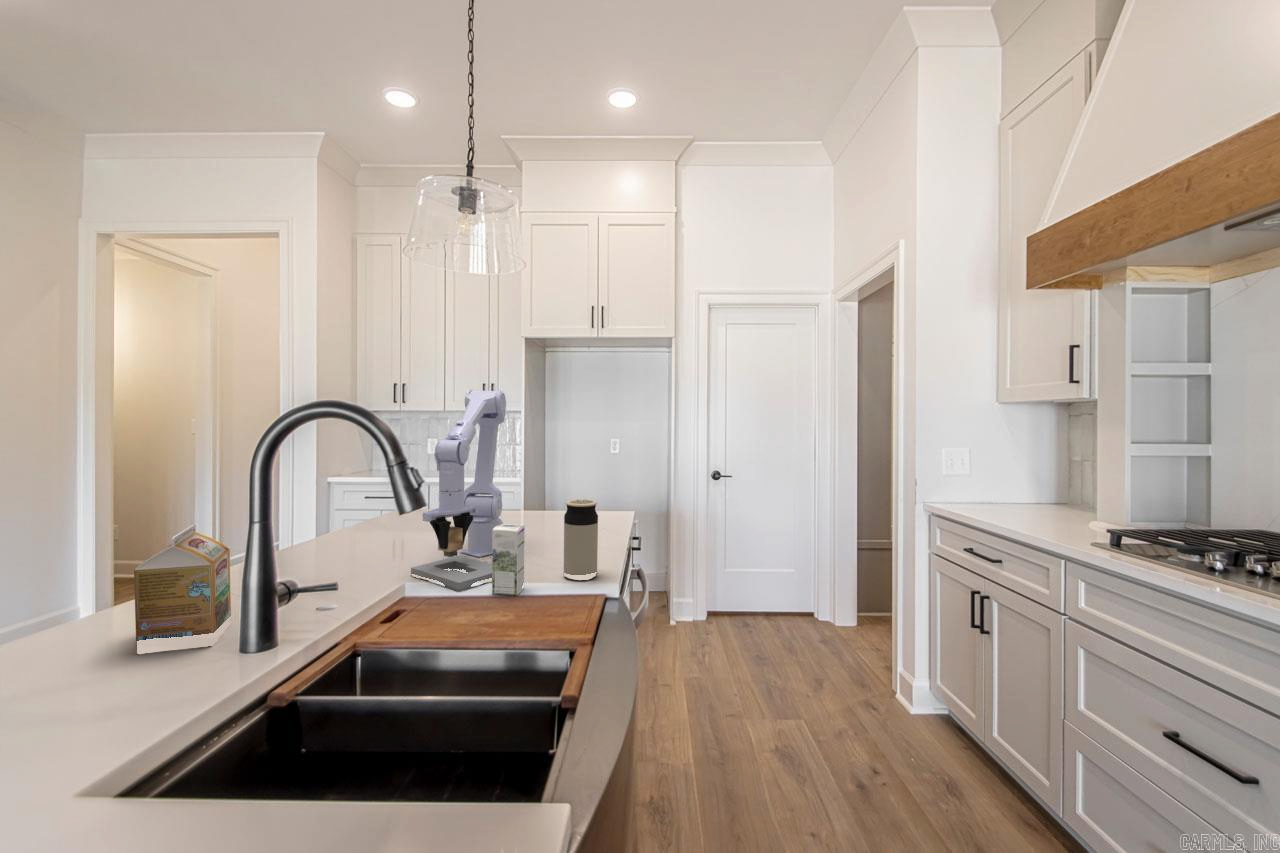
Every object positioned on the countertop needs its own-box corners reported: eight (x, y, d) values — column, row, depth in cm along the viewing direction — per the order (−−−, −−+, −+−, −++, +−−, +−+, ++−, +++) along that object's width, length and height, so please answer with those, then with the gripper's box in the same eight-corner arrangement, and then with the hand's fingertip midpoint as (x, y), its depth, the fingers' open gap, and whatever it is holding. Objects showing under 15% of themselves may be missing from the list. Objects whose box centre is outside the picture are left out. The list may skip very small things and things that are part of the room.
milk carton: (161, 630, 108) (159, 526, 107) (231, 624, 111) (229, 522, 110) (136, 655, 98) (133, 539, 97) (213, 646, 102) (210, 535, 101)
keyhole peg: (452, 552, 147) (452, 526, 146) (462, 555, 144) (462, 528, 144) (438, 556, 143) (437, 529, 143) (448, 558, 141) (448, 531, 141)
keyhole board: (460, 563, 153) (460, 555, 153) (508, 576, 143) (508, 568, 142) (410, 575, 142) (410, 567, 142) (458, 591, 131) (458, 582, 131)
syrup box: (525, 587, 135) (525, 523, 134) (517, 596, 129) (517, 529, 128) (500, 586, 135) (500, 522, 135) (491, 595, 130) (491, 528, 129)
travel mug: (601, 579, 142) (602, 503, 141) (568, 583, 139) (569, 505, 138) (591, 570, 149) (592, 498, 148) (560, 573, 146) (560, 499, 145)
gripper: (465, 484, 151) (465, 538, 152) (414, 491, 139) (414, 549, 140) (484, 487, 147) (484, 542, 148) (433, 495, 135) (433, 555, 136)
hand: (451, 546), depth 144 cm, fingers closed on keyhole peg, 4 cm apart
